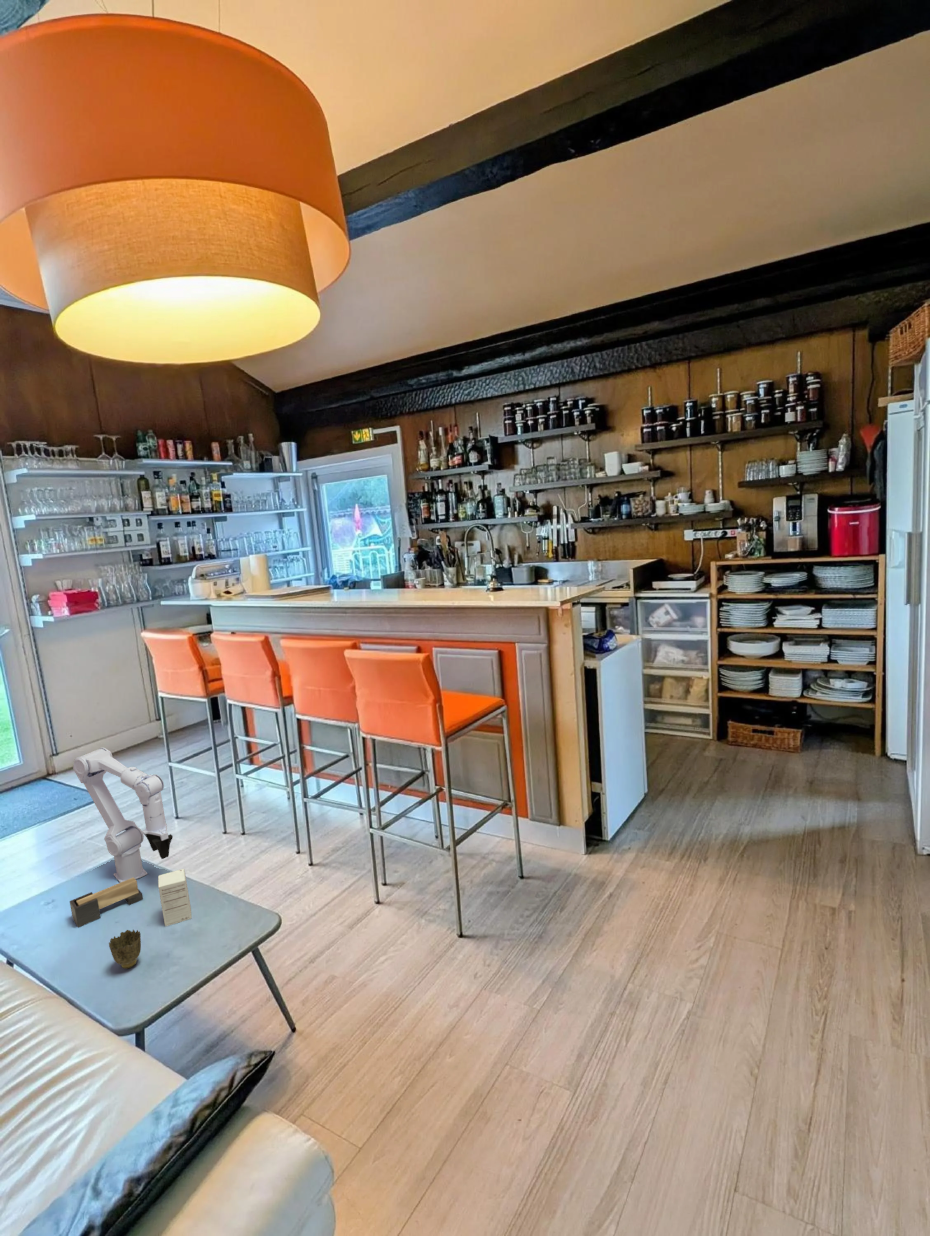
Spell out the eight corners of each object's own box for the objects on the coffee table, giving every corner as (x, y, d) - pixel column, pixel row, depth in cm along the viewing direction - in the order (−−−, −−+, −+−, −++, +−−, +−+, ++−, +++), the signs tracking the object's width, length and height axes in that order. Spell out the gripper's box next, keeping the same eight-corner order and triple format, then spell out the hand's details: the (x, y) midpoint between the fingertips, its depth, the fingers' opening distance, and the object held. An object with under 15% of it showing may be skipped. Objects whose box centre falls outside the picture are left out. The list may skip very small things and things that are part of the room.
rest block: (123, 898, 202) (122, 892, 202) (136, 892, 205) (135, 886, 204) (129, 905, 198) (128, 899, 197) (143, 899, 200) (142, 893, 200)
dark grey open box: (72, 919, 192) (69, 901, 191) (95, 910, 196) (91, 892, 195) (78, 927, 188) (74, 909, 187) (100, 918, 192) (97, 899, 191)
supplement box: (164, 914, 192) (157, 875, 190) (191, 906, 195) (185, 867, 193) (164, 927, 185) (157, 887, 183) (192, 919, 188) (185, 879, 186)
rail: (78, 913, 192) (76, 901, 191) (135, 889, 203) (133, 877, 202) (81, 917, 190) (78, 904, 189) (138, 892, 201) (136, 880, 200)
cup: (137, 952, 175) (132, 925, 174) (150, 962, 170) (145, 935, 169) (108, 968, 170) (103, 940, 168) (120, 979, 165) (115, 951, 164)
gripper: (133, 812, 207) (139, 851, 209) (148, 825, 197) (155, 866, 199) (156, 804, 212) (162, 842, 214) (172, 817, 202) (178, 857, 204)
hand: (160, 853), depth 207 cm, fingers open, 7 cm apart
